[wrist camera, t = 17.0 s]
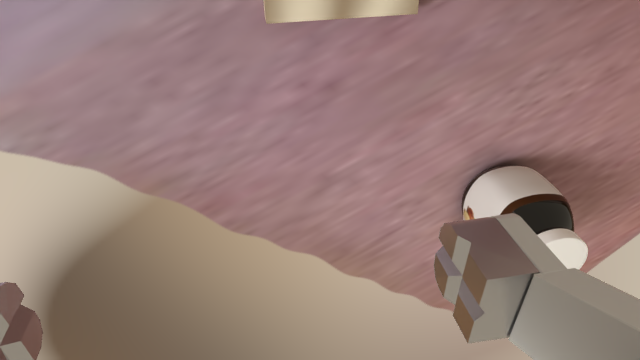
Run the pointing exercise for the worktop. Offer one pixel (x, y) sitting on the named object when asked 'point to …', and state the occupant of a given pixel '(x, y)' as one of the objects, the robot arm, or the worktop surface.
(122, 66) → the worktop surface
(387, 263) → the worktop surface
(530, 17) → the worktop surface
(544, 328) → the robot arm
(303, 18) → the post stand
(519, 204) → the spread jar
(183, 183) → the worktop surface
